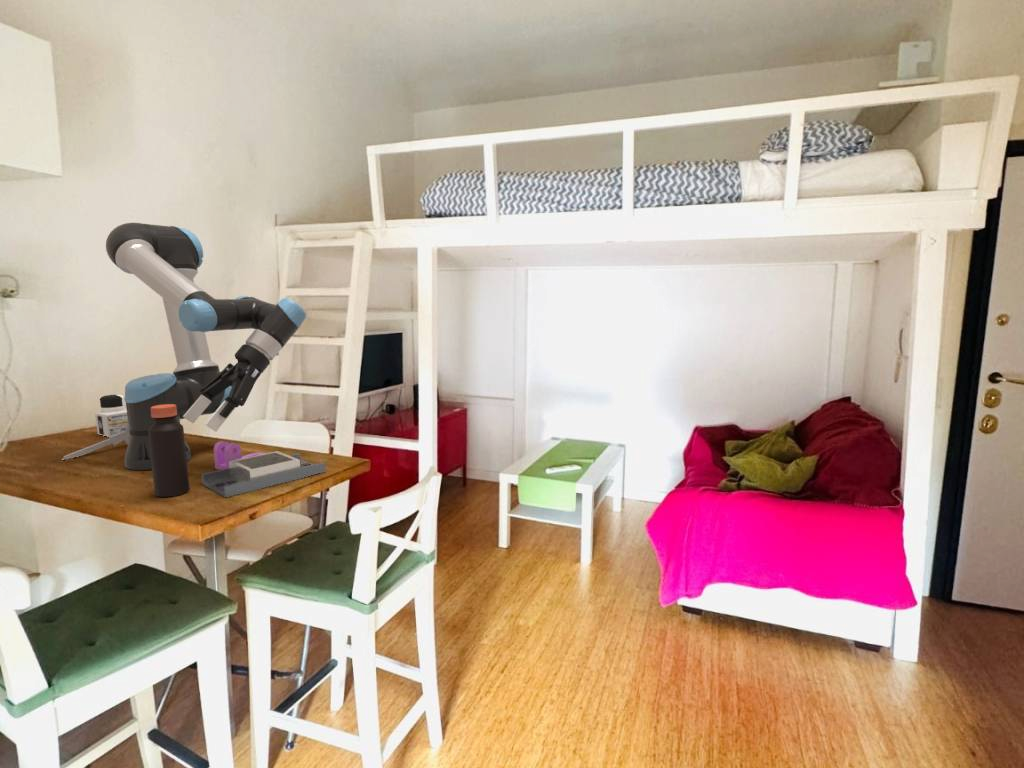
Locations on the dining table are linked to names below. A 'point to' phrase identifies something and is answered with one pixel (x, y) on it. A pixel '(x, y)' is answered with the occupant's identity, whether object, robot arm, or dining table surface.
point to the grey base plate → (259, 473)
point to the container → (111, 415)
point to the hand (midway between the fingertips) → (198, 424)
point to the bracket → (228, 454)
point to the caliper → (102, 444)
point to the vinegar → (168, 452)
